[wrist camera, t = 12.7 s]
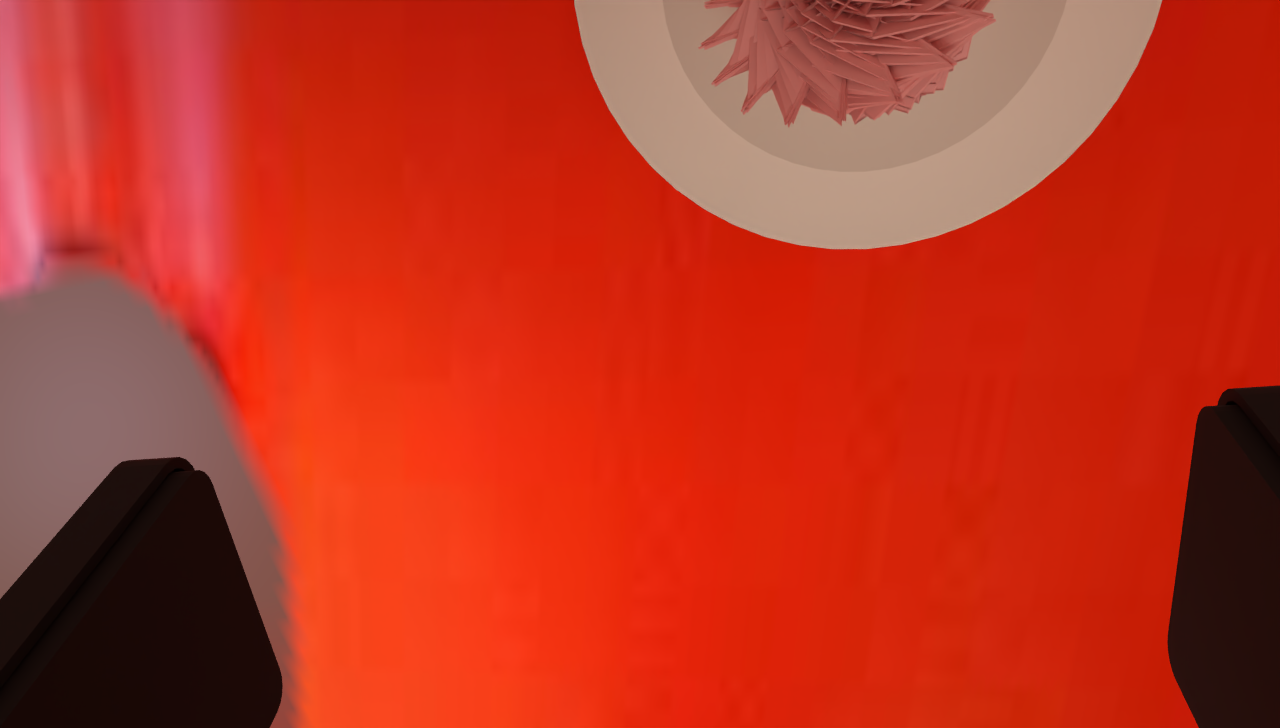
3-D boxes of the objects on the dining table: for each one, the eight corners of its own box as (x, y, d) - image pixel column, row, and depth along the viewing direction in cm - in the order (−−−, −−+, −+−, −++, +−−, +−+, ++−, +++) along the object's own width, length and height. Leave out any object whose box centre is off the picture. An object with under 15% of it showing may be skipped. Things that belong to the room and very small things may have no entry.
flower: (1019, 201, 27) (966, 60, 22) (723, 205, 31) (629, 87, 26) (1065, -64, 29) (1025, -239, 25) (785, -27, 33) (708, -170, 29)
